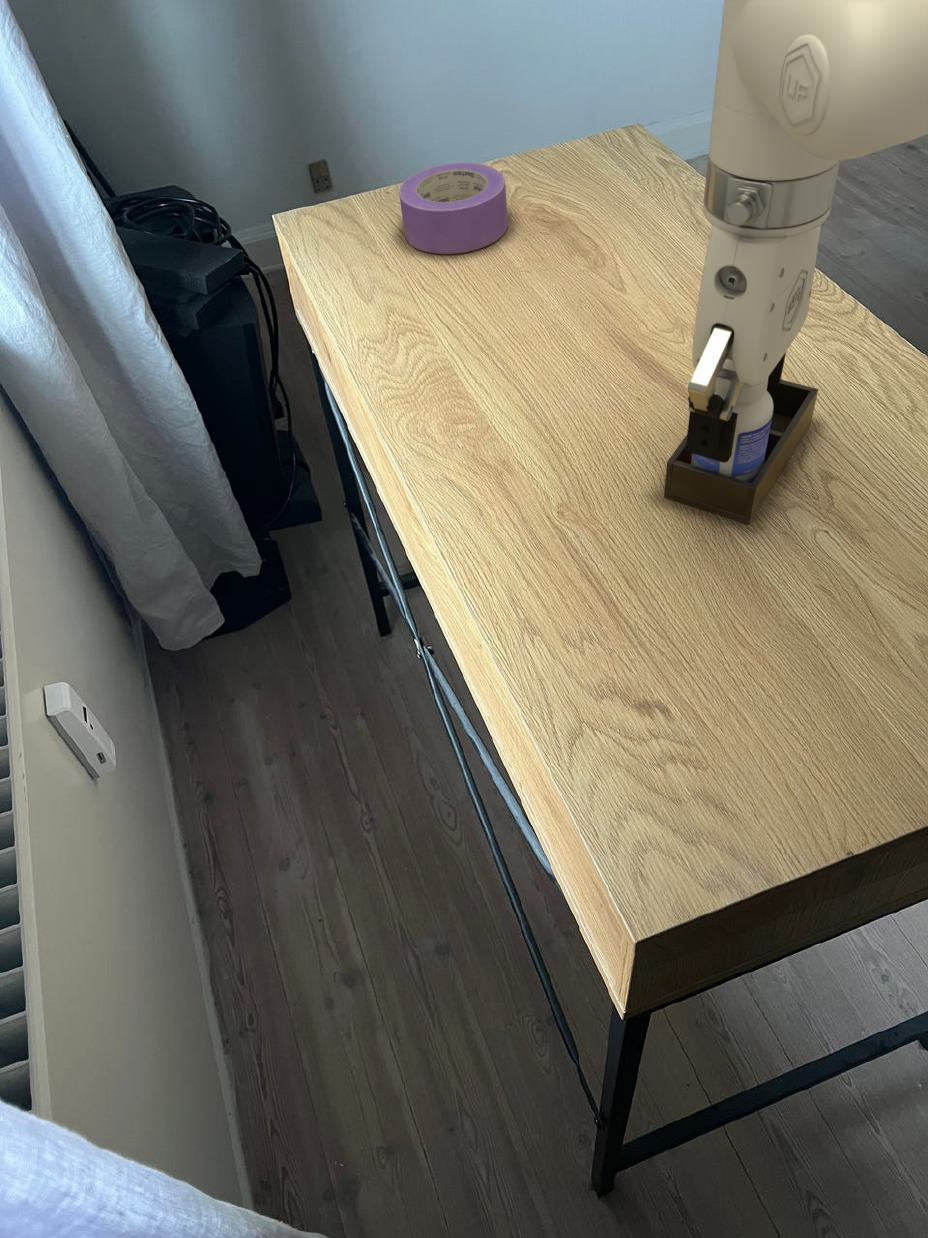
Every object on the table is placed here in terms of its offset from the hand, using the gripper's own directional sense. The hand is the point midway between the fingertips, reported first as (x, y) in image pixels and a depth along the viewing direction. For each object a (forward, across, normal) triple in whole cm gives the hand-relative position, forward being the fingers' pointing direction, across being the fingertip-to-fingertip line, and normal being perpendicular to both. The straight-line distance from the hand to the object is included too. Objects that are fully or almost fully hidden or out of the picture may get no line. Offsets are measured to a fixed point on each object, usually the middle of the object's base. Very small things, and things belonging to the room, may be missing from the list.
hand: (733, 417), depth 69 cm
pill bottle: (+6, 0, 0) cm, 6 cm away
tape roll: (+7, +27, +43) cm, 51 cm away
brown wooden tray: (+6, +3, 0) cm, 7 cm away
